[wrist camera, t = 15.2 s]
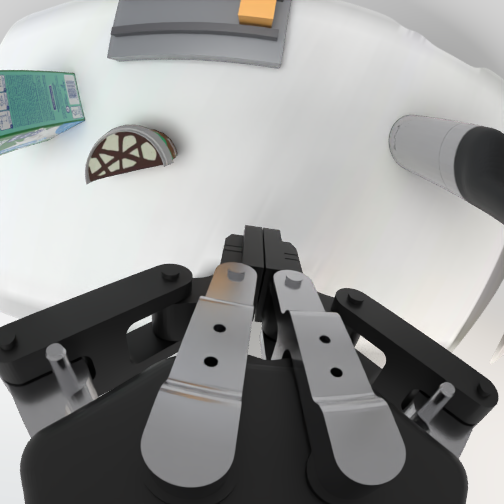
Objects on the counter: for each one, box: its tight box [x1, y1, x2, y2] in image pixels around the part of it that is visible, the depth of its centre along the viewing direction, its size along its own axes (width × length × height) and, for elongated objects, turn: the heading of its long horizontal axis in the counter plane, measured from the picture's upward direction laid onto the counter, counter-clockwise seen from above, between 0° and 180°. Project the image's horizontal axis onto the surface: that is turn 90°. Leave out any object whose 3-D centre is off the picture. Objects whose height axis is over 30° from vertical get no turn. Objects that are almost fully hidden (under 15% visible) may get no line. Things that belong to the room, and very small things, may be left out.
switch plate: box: [107, 0, 291, 68], centre depth 29 cm, size 24×14×6 cm, turn 82°
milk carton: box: [0, 70, 85, 155], centre depth 25 cm, size 9×9×25 cm
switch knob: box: [238, 0, 276, 28], centre depth 26 cm, size 4×4×4 cm
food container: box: [85, 125, 177, 184], centre depth 36 cm, size 12×6×10 cm, turn 97°
